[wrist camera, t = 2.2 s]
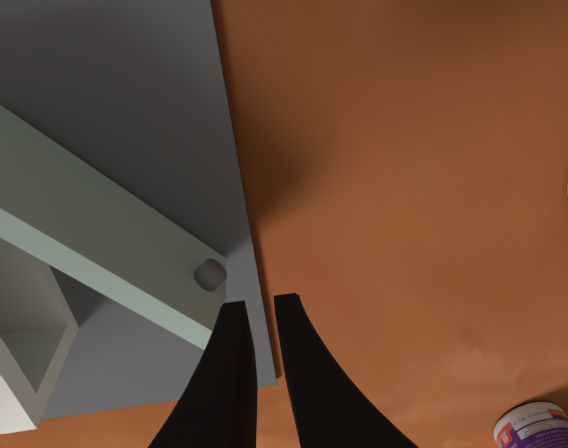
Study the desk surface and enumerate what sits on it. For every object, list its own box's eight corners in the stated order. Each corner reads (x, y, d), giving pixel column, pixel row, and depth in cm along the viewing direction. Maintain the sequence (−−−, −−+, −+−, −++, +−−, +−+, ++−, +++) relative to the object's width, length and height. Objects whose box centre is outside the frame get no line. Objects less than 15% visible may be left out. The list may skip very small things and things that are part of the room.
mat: (276, 379, 28) (277, 384, 28) (-40, 426, 28) (-44, 432, 27) (185, -144, 14) (184, -146, 14) (-443, -68, 14) (-460, -69, 14)
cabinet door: (237, 248, 22) (238, 327, 17) (214, 271, 22) (208, 352, 18) (-4, 79, 17) (-95, 126, 12) (-27, 114, 17) (-120, 171, 13)
